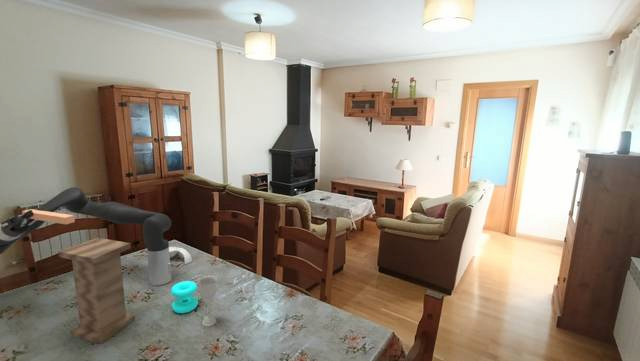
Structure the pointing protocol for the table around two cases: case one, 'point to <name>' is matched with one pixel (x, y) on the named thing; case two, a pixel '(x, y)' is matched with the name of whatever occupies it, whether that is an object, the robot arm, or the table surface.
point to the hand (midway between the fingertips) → (37, 211)
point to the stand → (99, 288)
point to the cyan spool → (184, 297)
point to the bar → (51, 216)
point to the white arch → (174, 251)
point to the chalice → (208, 296)
